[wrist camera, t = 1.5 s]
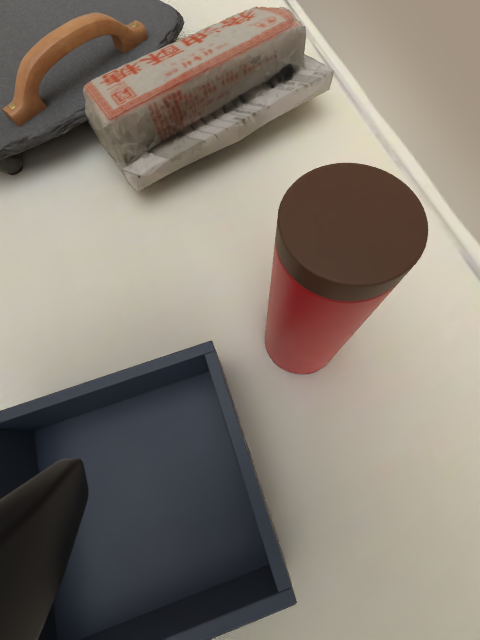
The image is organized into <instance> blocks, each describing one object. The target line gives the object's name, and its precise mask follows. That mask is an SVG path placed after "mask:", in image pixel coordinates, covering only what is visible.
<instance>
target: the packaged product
mask: <svg viewBox="0 0 480 640" xmlns="http://www.w3.org/2000/svg"><path fill="white" fill-rule="evenodd" d="M305 40H306V29H305V26H303V25H302V24H301V22H300V21H298V20H297V19H296V18H295V16H294V15H293V13H292V12H291V11H290V10H288V9H286V8H284V7H280V8H266V7H259V8H258V7H254V8H251V9H249V10H245V11H244V12H242V13H239V14H237V15H234V16H231V17H229V18H226V19H225V20H223V21H221V22H219V23H217V24H214V25H211V26H209V27H207V28H205V29H203V30H201V31H199V32H197V33H195V34H191V35H189V36H188V37H184V38H182V39H181V40H179V41H177V42H174V43H172V44H170V45H167V46H165V47H163V48H161V49H159V50H157V51H154V52H152V53H149V54H147V55H145V56H142V57H140V58H139V59H137V60H135V61H132V62H130V63H127V64H125V65H123V66H121V67H119V68H117V69H114V70H112V71H109V72H107V73H105V74H103V75H101V76H100V77H96V79H93V80H91V81H90V82H89V83H87V84H85V85H84V88H83V94H84V97H85V101H86V103H85V106H86V108H85V114H86V116H87V117H88V119H89V121H88V123H89V124H90V126H91V127H92V129H93V131H94V132H95V134H96V135H97V137H98V139H99V140H100V142H101V143H102V145H103V146H104V147H105V148H106V150H107V151H108V152H109V153H110V155H111V156H112V157H113V158H114V160H115V161H116V163H117V164H118V166H119V167H120V169H121V171H122V172H123V174H124V176H125V177H126V179H127V180H128V182H129V184H130V185H131V186H132V187H133V188H134V189H135V190H137V191H140V190H142V189H143V188H145V187H147V186H149V185H151V184H152V183H154V182H156V181H158V180H160V179H161V178H163V177H165V176H167V175H169V174H170V173H172V172H174V171H176V170H178V169H181V168H183V167H185V166H187V165H189V164H191V163H193V162H195V161H197V160H199V159H201V158H203V157H205V156H207V155H209V154H211V153H214V152H216V151H218V150H220V149H223V148H225V147H227V146H229V145H232V144H234V143H236V142H238V141H240V140H242V139H243V138H245V137H246V136H248V135H250V134H251V133H253V132H254V131H256V130H257V129H259V128H260V127H262V126H263V125H265V124H266V123H268V122H270V121H272V120H273V119H275V118H277V117H279V116H281V115H283V114H285V113H286V112H288V111H290V110H292V109H294V108H296V107H298V106H299V105H301V104H303V103H305V102H307V101H309V100H311V99H312V98H314V97H316V96H318V95H320V94H322V93H324V92H325V91H327V90H329V89H330V85H331V81H332V78H333V74H334V70H333V69H331V68H329V67H328V66H326V65H325V64H323V63H320V62H318V61H316V60H315V59H313V58H311V57H309V56H307V55H305V54H304V50H305Z"/></svg>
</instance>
